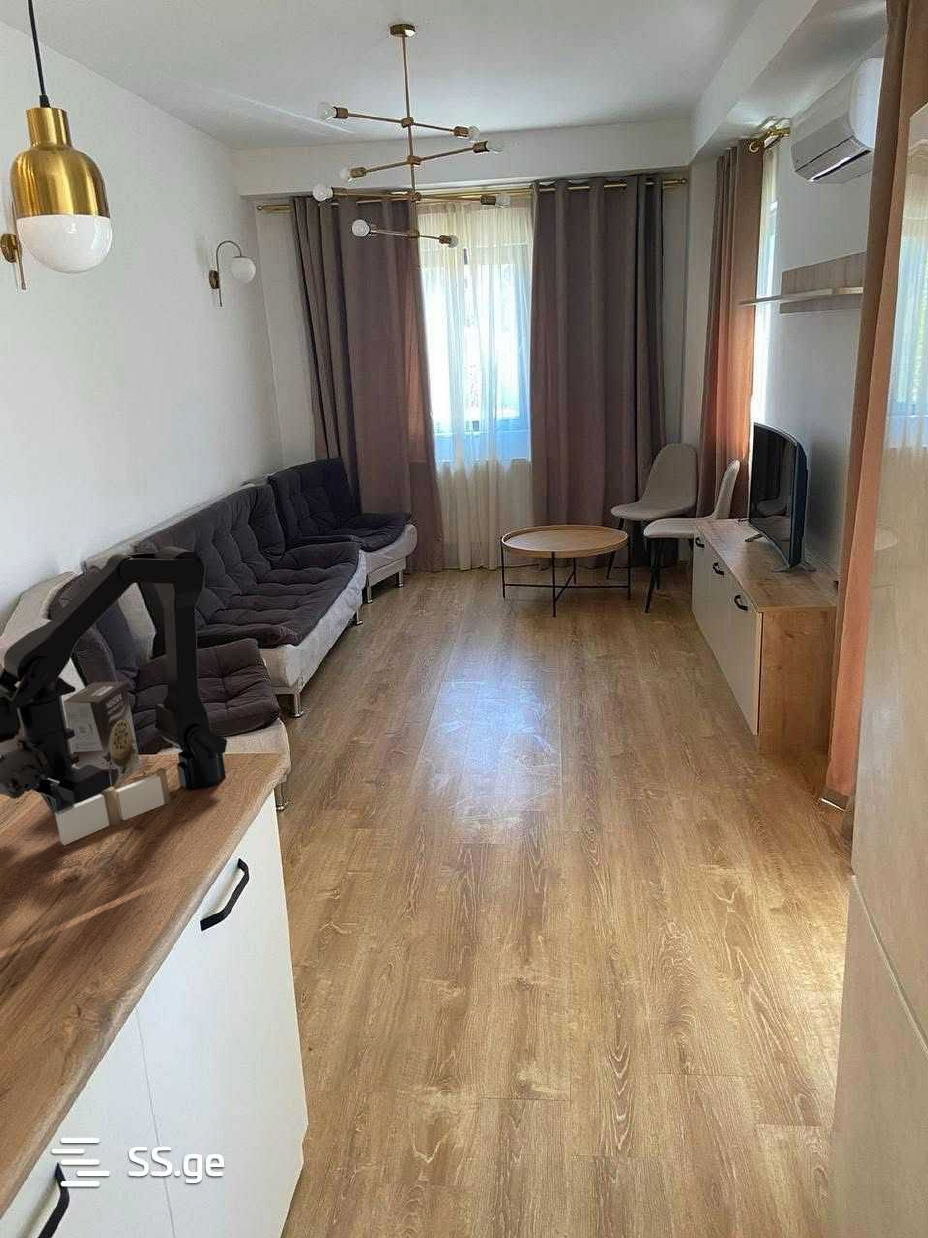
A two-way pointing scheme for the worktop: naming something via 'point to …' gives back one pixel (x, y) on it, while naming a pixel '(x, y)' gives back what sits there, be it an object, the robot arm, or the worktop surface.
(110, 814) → the fence post and panel
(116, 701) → the coffee box
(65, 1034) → the worktop surface
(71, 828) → the fence gate panel
